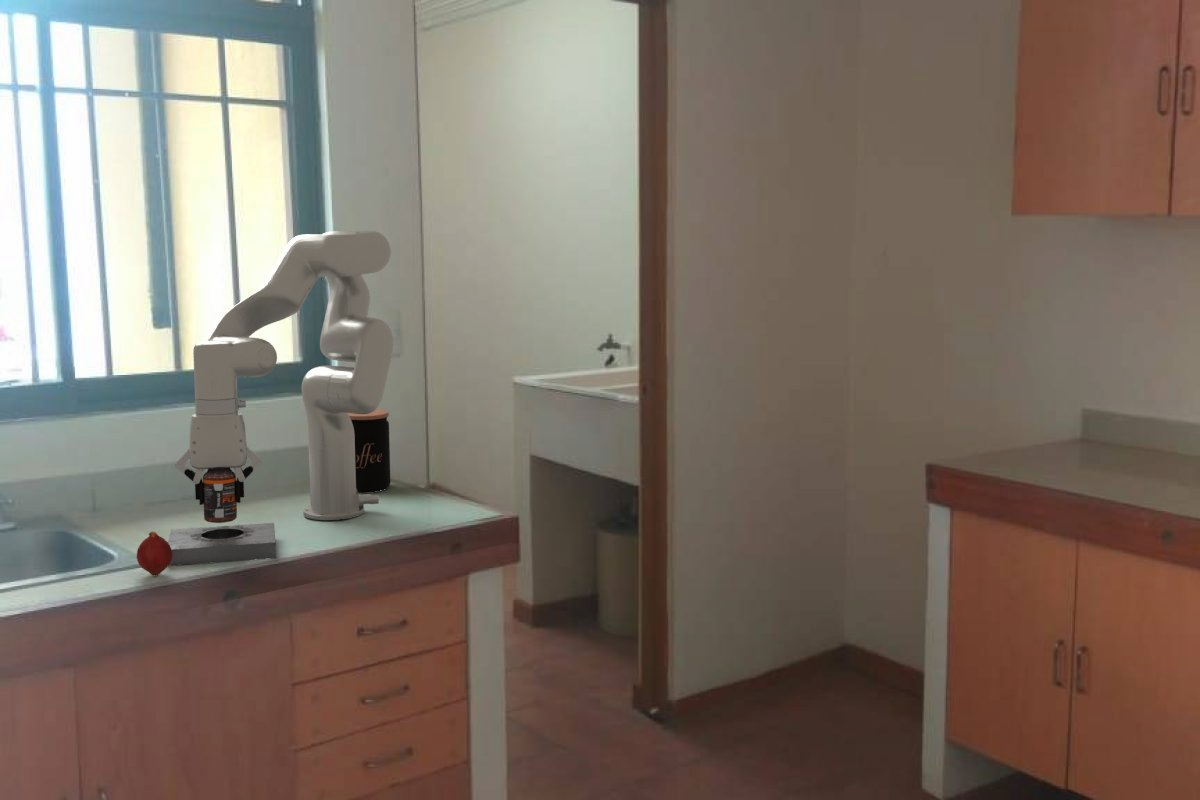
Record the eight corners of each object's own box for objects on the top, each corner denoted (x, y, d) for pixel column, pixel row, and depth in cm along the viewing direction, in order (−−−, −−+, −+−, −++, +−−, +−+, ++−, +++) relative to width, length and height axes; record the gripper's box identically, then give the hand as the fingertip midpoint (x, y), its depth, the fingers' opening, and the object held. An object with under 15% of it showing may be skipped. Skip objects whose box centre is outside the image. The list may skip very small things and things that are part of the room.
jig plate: (274, 537, 232) (274, 522, 231) (276, 558, 218) (275, 542, 217) (172, 544, 227) (171, 529, 226) (166, 566, 212) (166, 549, 212)
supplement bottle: (227, 524, 219) (224, 464, 217) (197, 523, 220) (195, 463, 219) (243, 517, 225) (241, 458, 223) (214, 515, 226) (212, 457, 224)
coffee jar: (336, 492, 271) (334, 415, 269) (354, 483, 282) (351, 408, 279) (381, 494, 269) (379, 416, 267) (396, 484, 280) (395, 409, 277)
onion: (143, 571, 209) (141, 527, 208) (177, 570, 210) (174, 526, 209) (133, 580, 204) (131, 535, 202) (167, 580, 204) (165, 534, 203)
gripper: (264, 403, 226) (267, 495, 228) (168, 406, 221) (172, 500, 223) (265, 408, 218) (268, 504, 221) (166, 411, 214) (170, 509, 216)
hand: (220, 501), depth 222 cm, fingers closed on supplement bottle, 5 cm apart
